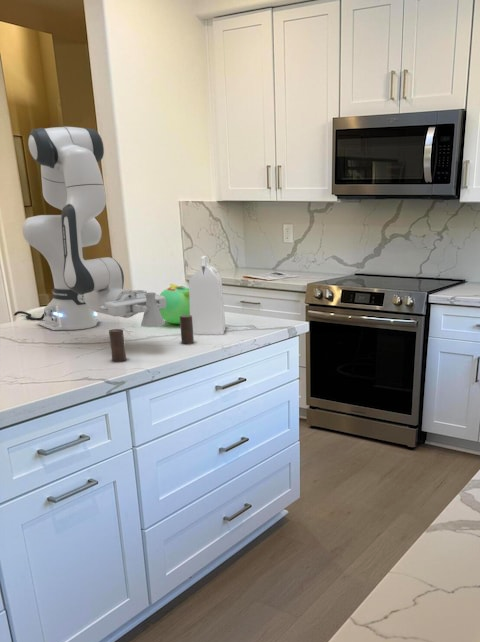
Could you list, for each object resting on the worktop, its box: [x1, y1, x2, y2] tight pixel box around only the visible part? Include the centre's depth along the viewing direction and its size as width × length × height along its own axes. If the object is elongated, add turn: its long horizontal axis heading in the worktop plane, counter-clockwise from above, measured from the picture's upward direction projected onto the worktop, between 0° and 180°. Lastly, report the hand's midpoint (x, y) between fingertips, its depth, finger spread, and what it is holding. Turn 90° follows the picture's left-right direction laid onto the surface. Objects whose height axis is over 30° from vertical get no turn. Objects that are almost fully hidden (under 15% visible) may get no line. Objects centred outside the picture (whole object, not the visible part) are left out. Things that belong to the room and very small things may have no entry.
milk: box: [188, 255, 226, 335], centre depth 216 cm, size 12×12×26 cm
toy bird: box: [159, 283, 190, 325], centre depth 230 cm, size 18×17×15 cm
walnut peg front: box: [108, 328, 127, 363], centre depth 180 cm, size 4×4×9 cm
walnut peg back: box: [179, 315, 195, 345], centre depth 202 cm, size 4×4×9 cm
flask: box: [140, 292, 166, 328], centre depth 187 cm, size 7×7×10 cm
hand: (153, 308), depth 187 cm, fingers closed on flask, 3 cm apart
